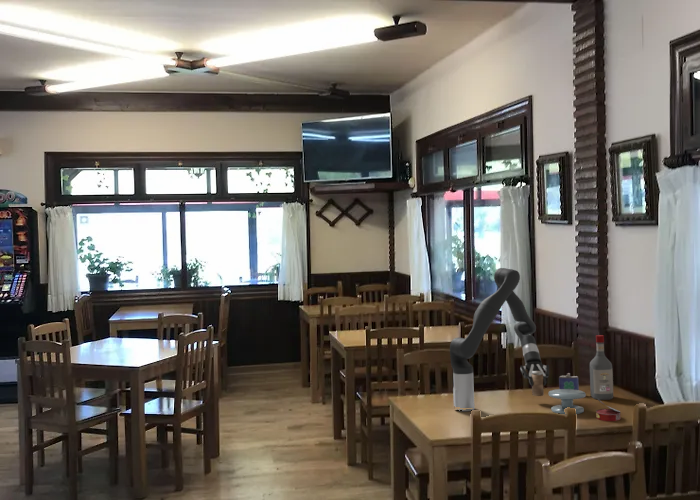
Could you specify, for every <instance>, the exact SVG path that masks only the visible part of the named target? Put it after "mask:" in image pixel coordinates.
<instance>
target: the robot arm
mask: <svg viewBox="0 0 700 500" xmlns="http://www.w3.org/2000/svg"><path fill="white" fill-rule="evenodd" d="M520 279H521V275H520V273H519V271H518V270H515V269H512V268H507V267H506V268H505V267H500V268H497V269H496V270H495V272H494V275H493V280H494V282H495V285H496V287H497V288H498V289H497V290H496V291H495V292H494V293H492V294H491V295H489V296H487V297H486V298H484V299H483V300H482V301H481V302H480V303H479V305H478V306H477V308H476V309H475V312H474V314H473V319H472V321H473V323H472V327H471V329H470V332H469V333H468V335H466V337H465V338H463V337H454V338H453V339H452V340H451V342H450V345H449V354H450V355H449V356H450V365H451V366H450V367H451V368H452V375H453V388H452V392H453V393H452V394H453V407H454V406H455V407H460V408H473V409H466V410H463V409H459V411H458V412H470V411H471V410H472V411H474V410H475V391H474V386H475V385H474V367H473V365H472V364H471V363H470V362H469V361H468V360H469V359H471V358H473V356H474V355H475V354H476V352H477V350H478V348H479V346H480V344H481V342H482V340H483V338H484V336H485V334H486V333H487V331H488V329H489V327H490V326H491V324H492V323H493V322H494V320H495V318H496V316H497V315H498V314H499V311H500V310H501V308H502V307H503V305H504V304H505V302H506V304H507V305H508V307H509V311H510V312H511V315H512V317H513V319H514V321H516V322H517V323H515V324H514V326H513V330H514V333H515V334H516V336H517V337H518V339H519V341H520V343H521V348H522V355H523V359H524V363H525V365H520V368H519V370H520V372H521V375H522V377H523V378H524V379H527V380H528V383H529V385H530V386H531V387H532V386H533V384H534V383H533V379H532V371H542V374H543V386H546V385H547V379H548V378H549V376H550V365H549V364H546V365H545V364H543V363H542V359H541V355H540V351H539V347H538V345H537V341H536V338H535V337H534V336H533V335H532V334H534V333H535V332H536V329H537V326H536V324H535V322H534V321H533V319H532V318H531V317H530V316H529V314H528V312H527V309H526V307H525V305H524V303H523V301H522V300H521V298H520V297H519V296H518V295H517V294H516V292H515V291H514V290H515V289H516V288H517V286H518V284H519V283H520ZM526 370H527V371H528V373H527V371H526ZM544 371H545V372H544ZM457 410H458V409H457ZM460 410H462V411H460Z"/></svg>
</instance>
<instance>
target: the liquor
mask: <svg viewBox="0 0 700 500" xmlns="http://www.w3.org/2000/svg"><path fill="white" fill-rule="evenodd" d="M595 342H596V343H595V344H596V353H595V355H594V357H593V358H592V359H591V361H590V362H589V384H590V385H589V387H590V396H591V398H592V399H594V400H598V399H599V400H600V401H603V400H605V401H606V400H612V399H613V398H614V381H613V380H614V377H613V376H614V375H613V374H614V373H613V364H612V362H611V360H610V359H608V358H607V356H606V355H605V335H603V334H598V335H597V334H596V335H595ZM599 400H598V401H599Z"/></svg>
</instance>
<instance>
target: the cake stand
mask: <svg viewBox="0 0 700 500" xmlns="http://www.w3.org/2000/svg"><path fill="white" fill-rule="evenodd" d="M548 396H549V397H550V398H553V399H557V400H558V399H559V400H560V401H561V402H560V403H561V404H556V405H553V406H551V409H550V410H551V412H552V413H555V414H558V413H560V414H559V415H566V414H565V412H564V409H565V408H567V407H570V408H575V409H576V414H575V415H579V414H582V413H584V412H585V411H584V410H585V409H584V407H583V406H579V405H575V404H574V400H579V399H583V398H585V397H586V392H585V391H582V390H580V389H579V390H574V389H559V388H557V389H552V390H549V391H548Z"/></svg>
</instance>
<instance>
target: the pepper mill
mask: <svg viewBox="0 0 700 500" xmlns="http://www.w3.org/2000/svg"><path fill="white" fill-rule="evenodd" d="M531 377H532V379H533V383H534V384H533V386H531V394H532V396H534V397H542V396H545V395H544V394H545V393H544V385H543V374H542V371H532V376H531Z"/></svg>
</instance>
